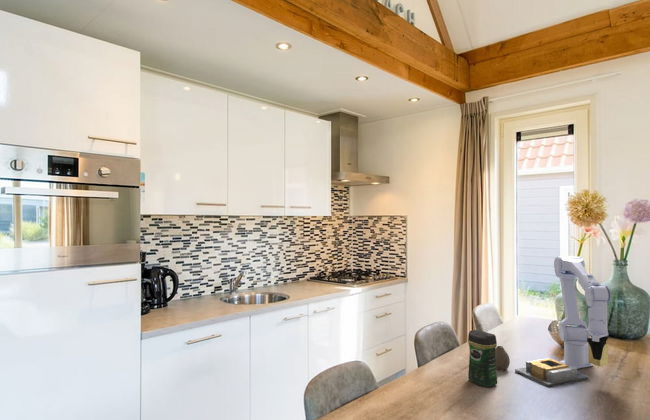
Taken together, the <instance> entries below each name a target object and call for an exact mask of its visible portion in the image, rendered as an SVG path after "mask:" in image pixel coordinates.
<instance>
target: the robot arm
mask: <svg viewBox="0 0 650 420" xmlns="http://www.w3.org/2000/svg"><path fill="white" fill-rule="evenodd" d="M553 269H554V274H555V277H557V278H559V280H560V287H561V289H560V290H561V294H562V302H563V307H564V308H563V309H564V316H565V318H563V319H562V320H561V321H560V322H559V324H558V335H559V338H560V340H561V341H562V342H563V355H564V356H563V360H559V361H558V362H561V363H564V364H566V365H569V366H572V367H574V368H577V370H579V369H583V368H587V367H593V366H594V364H591V363H589V354H588V343H589V345H590V347H591V351H592V355H593V358H594V359H597V360H601V357H602V352H603V348H604V345H605V344H607V342H608V339H609V332H608V329H609V328H608V303H609V302H610V301H611V297H612V296H611V290H610V288H609V287H608V285H604V284H601V283H600V282H599V280H598V279H597V278H596V277H595V276H594V275H593V274H592V273H588V272H587V270H586V268H585V260H584V259H583V257H582V256H580V255H579V256H560V255H559V256H557V255H556V257H555V258H554V261H553ZM576 278H578V280H577V282H578V285H580V287H581V288H582V289H583V291H584V297H585V299H586V300H585V301H586V306H588V307H587V308H588V309H587V311H588V312H587V314H588V315H587V316H588V317H587V318H588V319H587V320H588V324H587V322H586V321H584V320H583V319H581V318H580V313H579V308H578V301H577V294H576V287H575V279H576Z"/></svg>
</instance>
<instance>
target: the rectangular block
mask: <svg viewBox="0 0 650 420" xmlns="http://www.w3.org/2000/svg"><path fill="white" fill-rule="evenodd" d="M587 344H588V354H589V363H591V364H593V366H598V367H605V366H609V344H608V343H606V344H605V345H604V348H603V352H602V357H601V360H597V359H594V358H593V355H592V351H591V347H590V345H589V343H588V342H587Z"/></svg>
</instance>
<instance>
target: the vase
mask: <svg viewBox="0 0 650 420" xmlns="http://www.w3.org/2000/svg"><path fill="white" fill-rule="evenodd" d="M495 361H496V371H500V372H501V371H502V372H504V371H506V370H508V369H509V367H510V364H511V363H510V362H511V360H510V356H509V353H508V352H507V351H506V350H505V347H504V346H503V345H497V346H496V349H495Z"/></svg>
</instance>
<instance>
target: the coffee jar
mask: <svg viewBox="0 0 650 420" xmlns="http://www.w3.org/2000/svg"><path fill="white" fill-rule="evenodd" d="M467 336H468V337H467V343H468V348H469V362H468V374H467V375H468V380H469V382H472V383H473V384H475V385H478V386H480V387H484V388H487V387H488V388H491V387H492V388H493V387H495V386H497V384H498V373H497V371H498V370H496V361H495V349H496V347H497V346H498V341H497V337H496V335H495V334H494V333H490V332H487V331H483V330H480V329H473V330H472V329H471V330H470V331H469V332H468V335H467Z"/></svg>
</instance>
